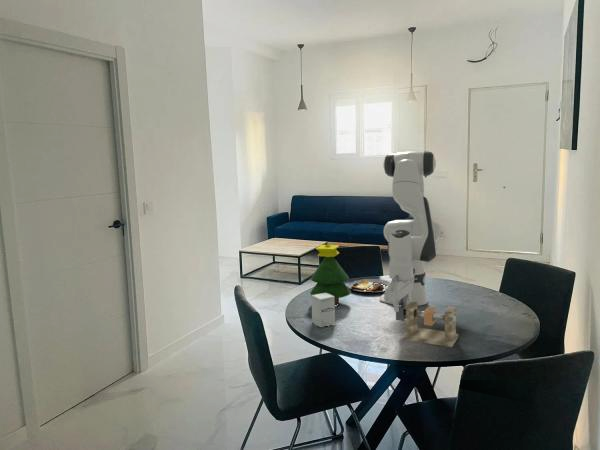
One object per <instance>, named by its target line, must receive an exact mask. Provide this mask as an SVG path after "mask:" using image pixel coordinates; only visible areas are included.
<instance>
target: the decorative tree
mask: <svg viewBox="0 0 600 450" xmlns="http://www.w3.org/2000/svg"><path fill="white" fill-rule="evenodd" d="M339 247H340V244H330V243H327V244H320V245H319V246H317V247H316V248H315V250H317V252H319V253H318V254H317V255H316V257H323V259H322V261H321V262H320V264H319V265H318V267H317V268H316V269H315V271H314V272H313V274H312V276H311V277H310V281H312V282H314V283H316V284H315V285H314V286H313V288H312V289H311V291H310V295H316V294H321V293H328V294H330V295H332V296H334V299H335V305H337V304H339V305H340V301H339V300H340V298H344V297H347V296H350V295H351V293H352V291H351V289H349V288H348V287H347V285H346V284H345V283H344V282H346V281H348V280H349V279H350V277H349V275H348V274H347V273H346V272H345V270H344V269H343V268H342V266H341V265H340V264H339V261H337V260H336V258H335V257H336V256H338V254H340V252H339V251H338V250H337V249H338V248H339Z"/></svg>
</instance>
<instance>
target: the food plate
mask: <svg viewBox="0 0 600 450" xmlns="http://www.w3.org/2000/svg"><path fill="white" fill-rule="evenodd" d="M390 282H391V280H385V279H375V278H373V279H372V278H366V279H364V278H363V279H359V280H353V281H351V282H350V283H348V284H347V285H346V286H347V287H348V288H349V290H350V291H351V290H352V291H353V292H359V293H360V292H362V293H365V292H372V293H384V291H383V289H385V287H386V286H388V285H389V283H390ZM374 283H378V284H374ZM359 284H360V285H359ZM381 284H383V285H385V287H384V286H383V285H381ZM357 285H358V286H357ZM371 285H373V288H369V287H370V286H371ZM367 288H369V289H367ZM364 290H366V291H364Z"/></svg>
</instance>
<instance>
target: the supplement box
mask: <svg viewBox="0 0 600 450" xmlns="http://www.w3.org/2000/svg"><path fill="white" fill-rule="evenodd" d="M310 295H311V294H310ZM310 299H311V300H310V301H311V323H312V322H313V323H314V324H316V325H318V326H319V327H324V326H328V325H332V326H334V325H333V324H335V325H336V309H335V308H336V307H335V299H334V296H332V295H330V294H328V293H321V294H316V295H311V296H310ZM314 324H313V325H314ZM316 325H315V326H316ZM319 327H318V328H319ZM328 327H329V326H328ZM324 328H325V327H324Z"/></svg>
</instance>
